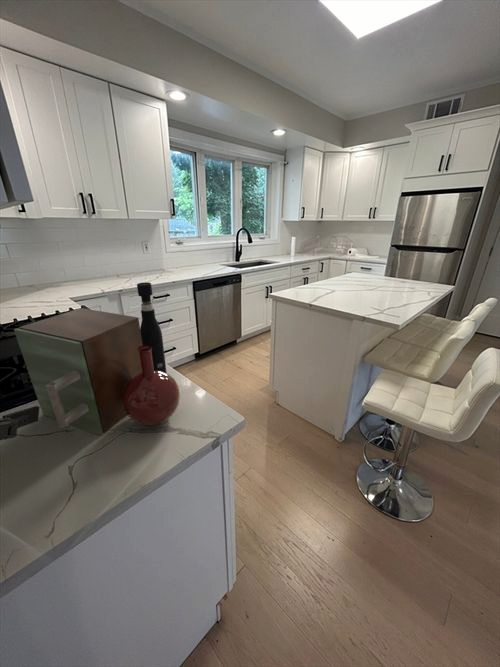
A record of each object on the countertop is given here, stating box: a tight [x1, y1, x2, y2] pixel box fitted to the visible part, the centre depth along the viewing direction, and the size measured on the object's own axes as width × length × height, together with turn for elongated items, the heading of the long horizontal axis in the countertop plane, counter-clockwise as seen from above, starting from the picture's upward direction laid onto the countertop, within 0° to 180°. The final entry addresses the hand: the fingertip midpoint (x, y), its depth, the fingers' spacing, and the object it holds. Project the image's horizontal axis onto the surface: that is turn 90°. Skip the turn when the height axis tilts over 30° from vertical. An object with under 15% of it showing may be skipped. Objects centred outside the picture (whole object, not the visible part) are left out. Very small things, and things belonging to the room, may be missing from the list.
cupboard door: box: [13, 327, 105, 437], centre depth 61 cm, size 7×20×24 cm, turn 68°
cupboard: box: [18, 307, 143, 434], centre depth 71 cm, size 16×20×24 cm
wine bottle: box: [136, 282, 168, 374], centre depth 84 cm, size 6×6×30 cm
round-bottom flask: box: [123, 345, 181, 427], centre depth 66 cm, size 13×13×20 cm
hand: (2, 409), depth 52 cm, fingers open, 13 cm apart
